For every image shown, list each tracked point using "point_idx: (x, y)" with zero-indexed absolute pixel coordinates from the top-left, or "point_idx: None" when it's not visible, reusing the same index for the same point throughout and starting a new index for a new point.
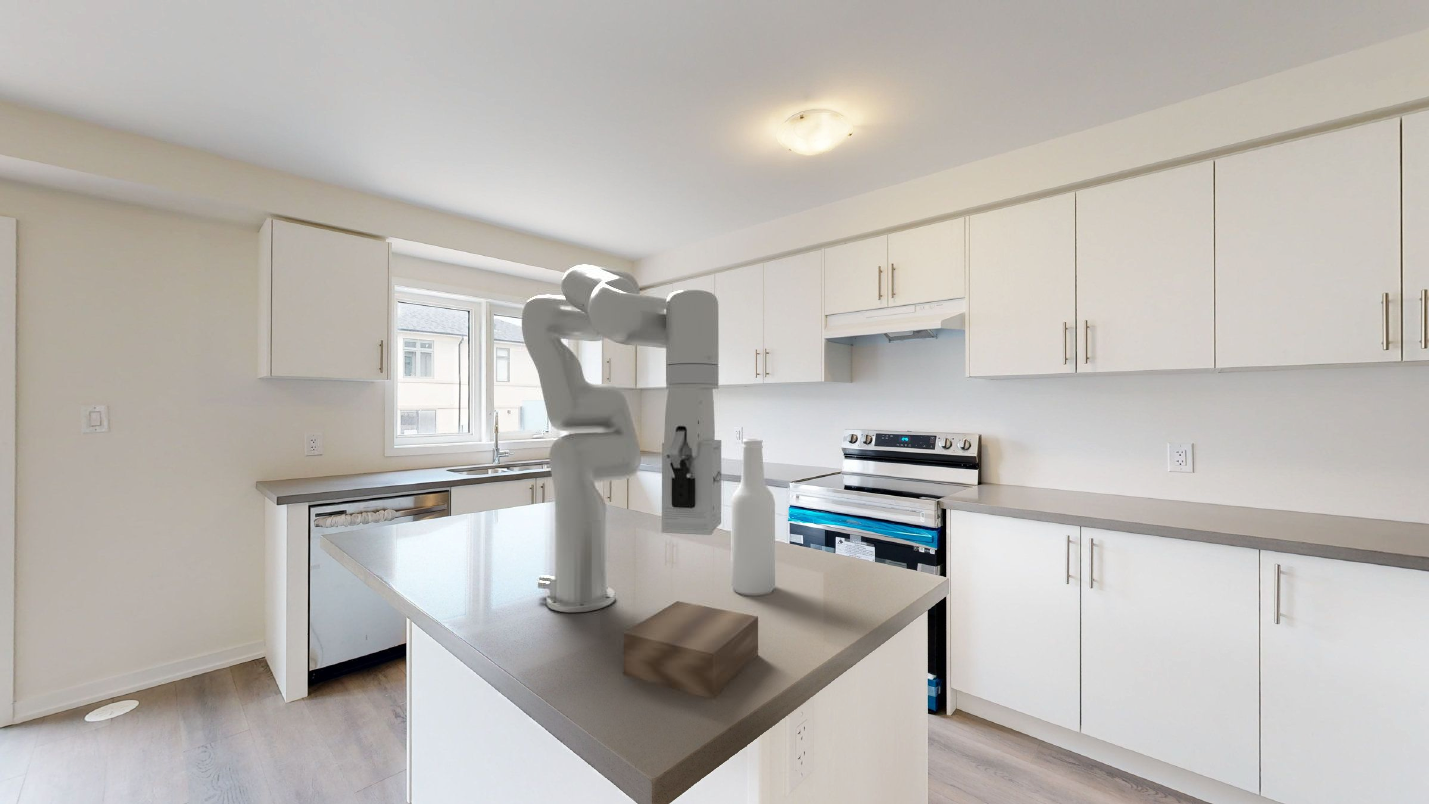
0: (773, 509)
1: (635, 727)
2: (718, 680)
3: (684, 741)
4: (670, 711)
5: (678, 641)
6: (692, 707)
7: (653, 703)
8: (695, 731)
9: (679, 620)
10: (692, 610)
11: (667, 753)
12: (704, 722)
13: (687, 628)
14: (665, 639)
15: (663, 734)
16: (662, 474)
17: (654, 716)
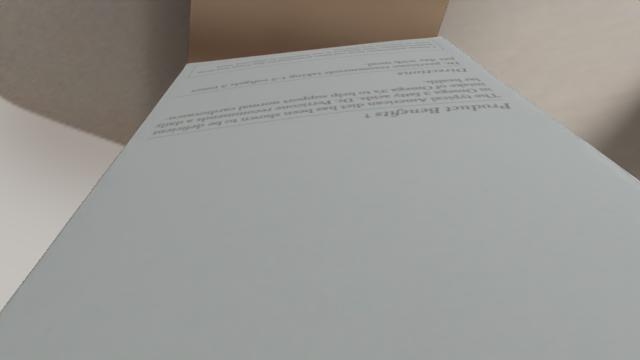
0: None
1: (58, 14)
2: None
3: (71, 104)
4: (132, 53)
5: (208, 54)
6: (161, 84)
7: (140, 13)
8: (103, 110)
9: (325, 11)
10: (399, 21)
11: (32, 91)
12: (131, 115)
13: (284, 49)
14: (205, 20)
15: (69, 67)
16: (31, 278)
17: (104, 32)
